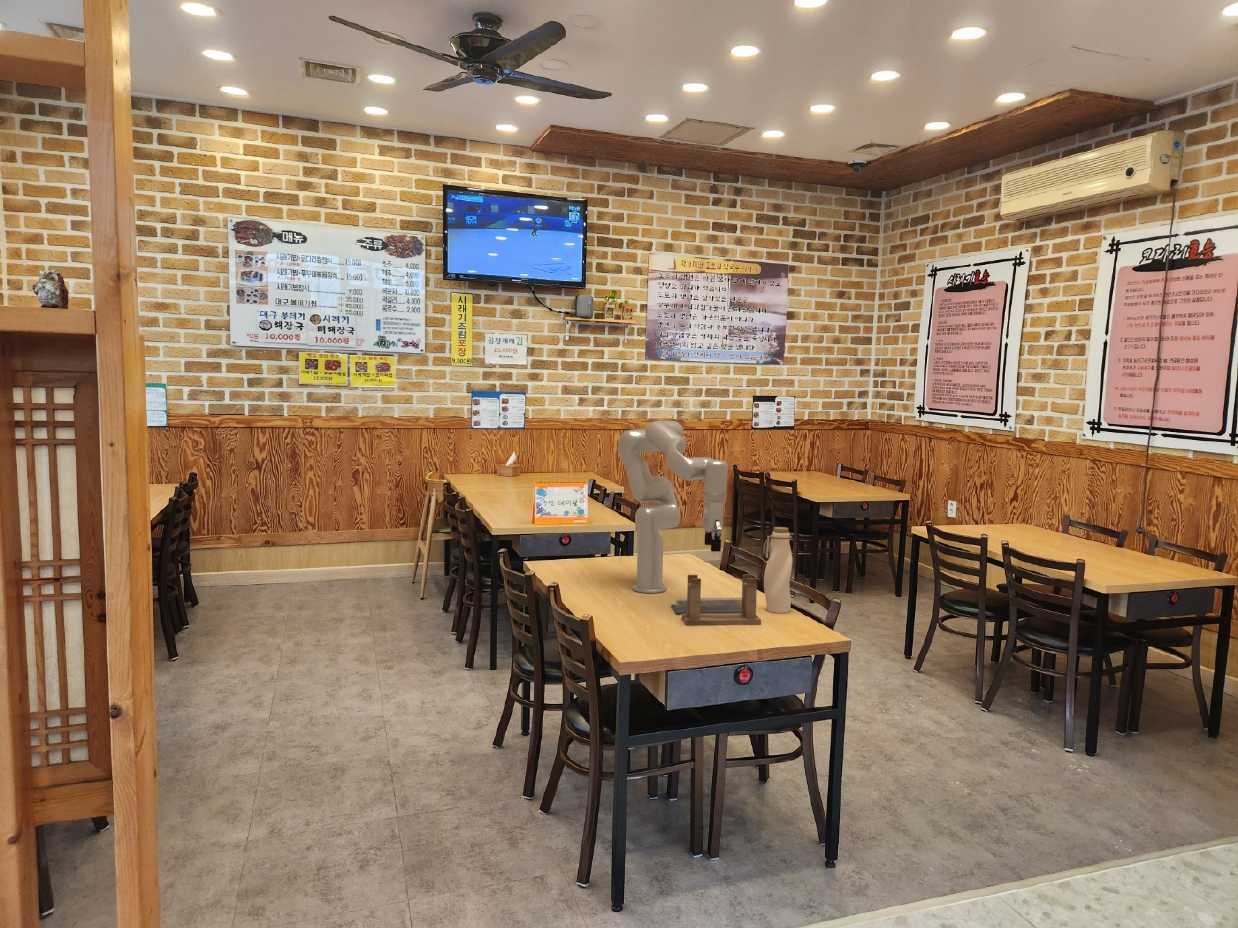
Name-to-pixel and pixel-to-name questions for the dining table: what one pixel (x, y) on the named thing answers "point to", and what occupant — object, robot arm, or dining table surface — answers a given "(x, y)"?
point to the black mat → (705, 610)
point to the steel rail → (712, 603)
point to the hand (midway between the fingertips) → (712, 548)
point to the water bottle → (778, 571)
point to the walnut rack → (742, 618)
